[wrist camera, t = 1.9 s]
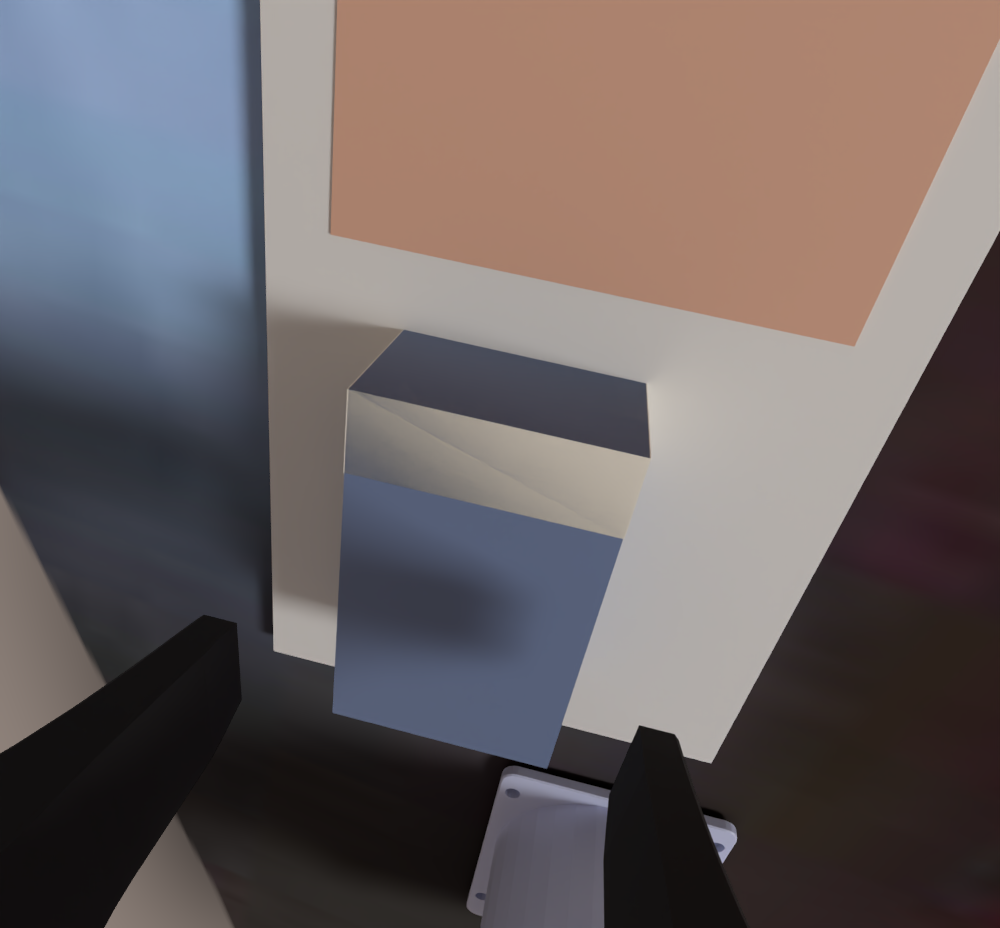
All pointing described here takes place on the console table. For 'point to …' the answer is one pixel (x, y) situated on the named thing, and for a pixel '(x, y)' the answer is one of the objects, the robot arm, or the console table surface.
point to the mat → (630, 275)
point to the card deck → (479, 539)
